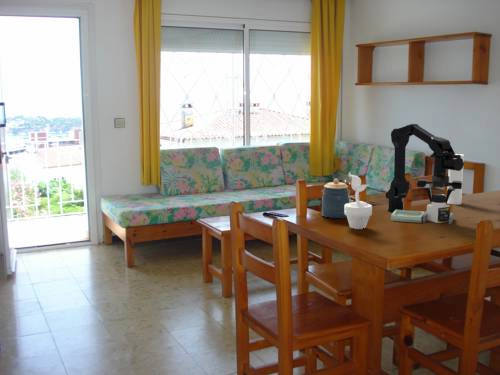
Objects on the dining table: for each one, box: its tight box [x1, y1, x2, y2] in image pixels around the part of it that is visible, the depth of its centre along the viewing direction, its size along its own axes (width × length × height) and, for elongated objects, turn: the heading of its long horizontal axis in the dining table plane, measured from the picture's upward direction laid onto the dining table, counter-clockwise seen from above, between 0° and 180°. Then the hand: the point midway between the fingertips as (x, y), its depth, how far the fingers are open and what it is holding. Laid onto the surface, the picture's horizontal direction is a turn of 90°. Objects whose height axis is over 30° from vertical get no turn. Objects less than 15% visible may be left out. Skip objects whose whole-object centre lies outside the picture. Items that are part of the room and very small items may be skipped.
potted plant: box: [344, 172, 373, 230], centre depth 250 cm, size 13×12×25 cm
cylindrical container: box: [447, 153, 465, 205], centre depth 303 cm, size 7×7×25 cm
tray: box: [390, 210, 425, 224], centre depth 269 cm, size 13×13×2 cm
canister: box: [321, 178, 351, 219], centre depth 275 cm, size 13×13×18 cm
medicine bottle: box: [426, 193, 451, 224], centre depth 264 cm, size 7×7×12 cm
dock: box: [422, 210, 454, 225], centre depth 265 cm, size 12×11×3 cm
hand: (438, 203), depth 263 cm, fingers closed on medicine bottle, 6 cm apart
